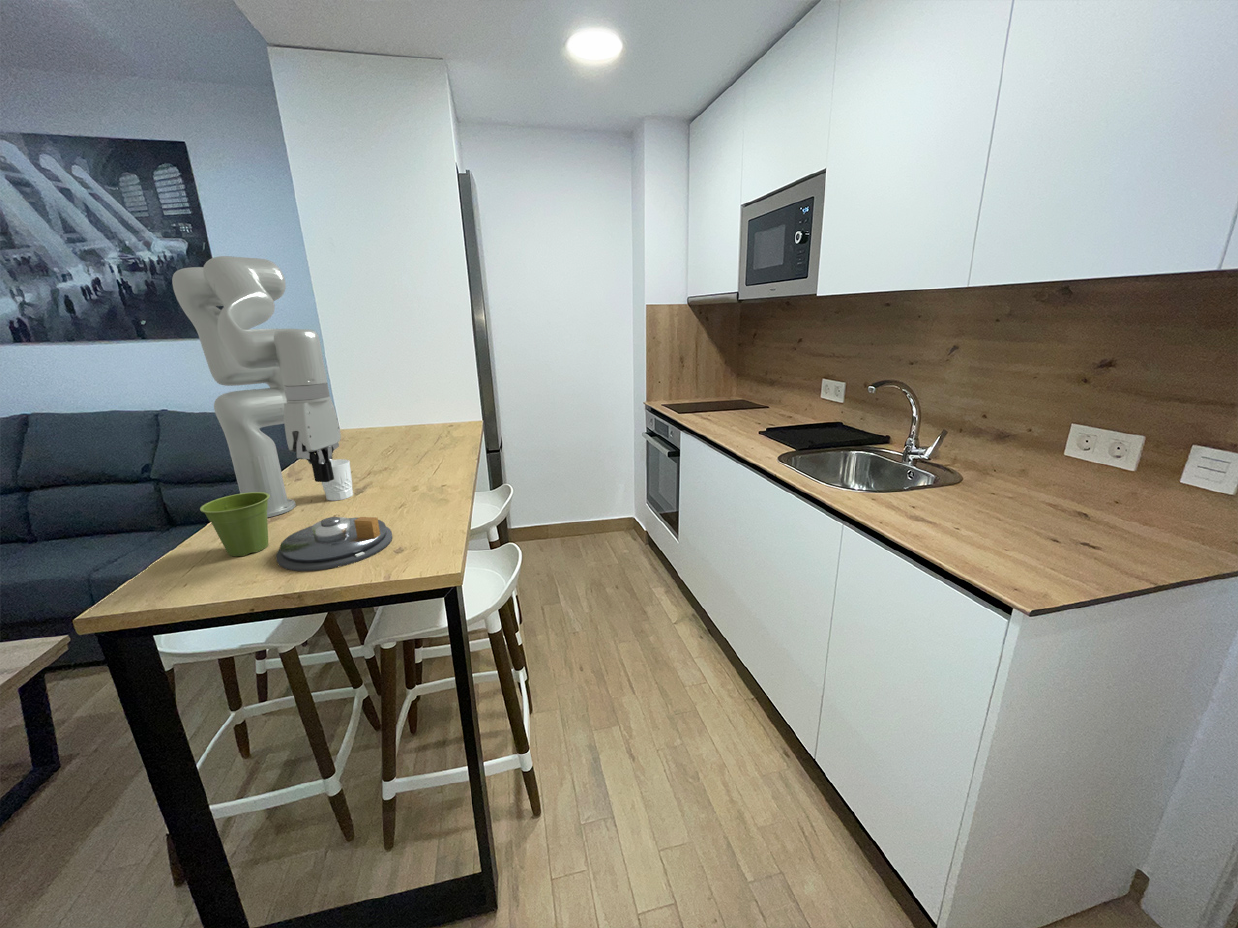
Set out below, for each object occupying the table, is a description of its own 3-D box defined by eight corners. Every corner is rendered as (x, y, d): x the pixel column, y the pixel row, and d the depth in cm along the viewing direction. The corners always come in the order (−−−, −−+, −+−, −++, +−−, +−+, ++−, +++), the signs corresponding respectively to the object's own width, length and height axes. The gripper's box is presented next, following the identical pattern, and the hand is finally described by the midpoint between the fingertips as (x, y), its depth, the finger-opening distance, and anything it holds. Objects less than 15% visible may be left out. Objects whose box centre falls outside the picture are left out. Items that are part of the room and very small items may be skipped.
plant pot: (223, 544, 110) (210, 497, 107) (285, 534, 114) (275, 488, 111) (204, 567, 100) (190, 515, 96) (274, 555, 104) (262, 505, 101)
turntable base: (249, 568, 98) (248, 562, 98) (326, 525, 119) (325, 520, 119) (351, 573, 95) (350, 567, 95) (411, 528, 116) (410, 523, 116)
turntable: (257, 560, 99) (250, 535, 97) (327, 521, 118) (323, 500, 116) (347, 564, 96) (342, 539, 95) (404, 524, 115) (401, 502, 114)
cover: (306, 542, 103) (303, 525, 102) (329, 529, 110) (326, 513, 109) (337, 543, 102) (334, 526, 101) (358, 530, 109) (355, 514, 108)
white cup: (361, 492, 143) (355, 459, 140) (344, 501, 136) (337, 467, 133) (335, 492, 144) (329, 459, 141) (317, 501, 136) (310, 466, 134)
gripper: (317, 388, 106) (332, 470, 111) (260, 399, 92) (280, 492, 97) (349, 388, 105) (363, 470, 110) (296, 398, 91) (315, 492, 96)
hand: (324, 480), depth 103 cm, fingers closed
